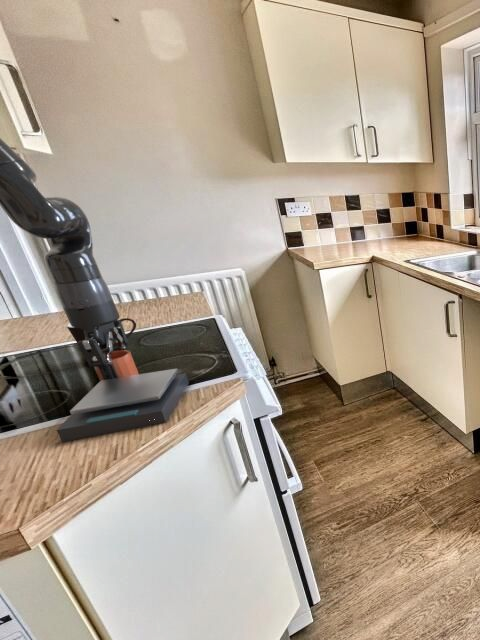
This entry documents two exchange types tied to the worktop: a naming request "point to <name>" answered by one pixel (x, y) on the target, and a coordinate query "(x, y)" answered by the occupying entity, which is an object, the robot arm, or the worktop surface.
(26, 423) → the worktop surface
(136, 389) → the scale pan
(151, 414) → the scale
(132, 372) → the terracotta faceted cup
